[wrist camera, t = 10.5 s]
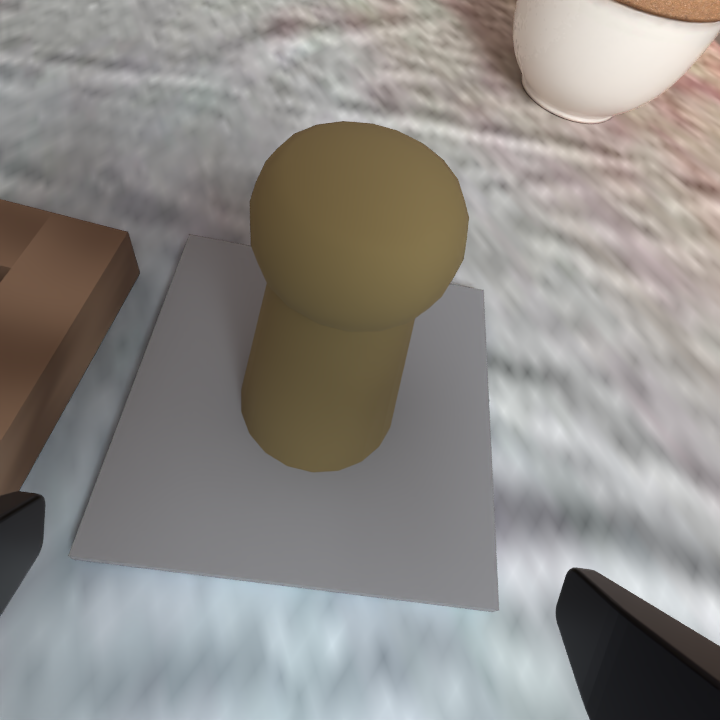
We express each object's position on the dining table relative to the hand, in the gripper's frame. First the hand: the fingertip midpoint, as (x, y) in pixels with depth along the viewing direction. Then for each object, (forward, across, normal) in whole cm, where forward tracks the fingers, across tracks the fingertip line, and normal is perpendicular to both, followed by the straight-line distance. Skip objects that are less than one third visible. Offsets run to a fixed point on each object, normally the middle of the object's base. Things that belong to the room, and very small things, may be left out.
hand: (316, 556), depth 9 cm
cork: (+12, 0, +1) cm, 12 cm away
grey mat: (+12, 0, +1) cm, 12 cm away
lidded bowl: (+32, -14, -18) cm, 40 cm away
